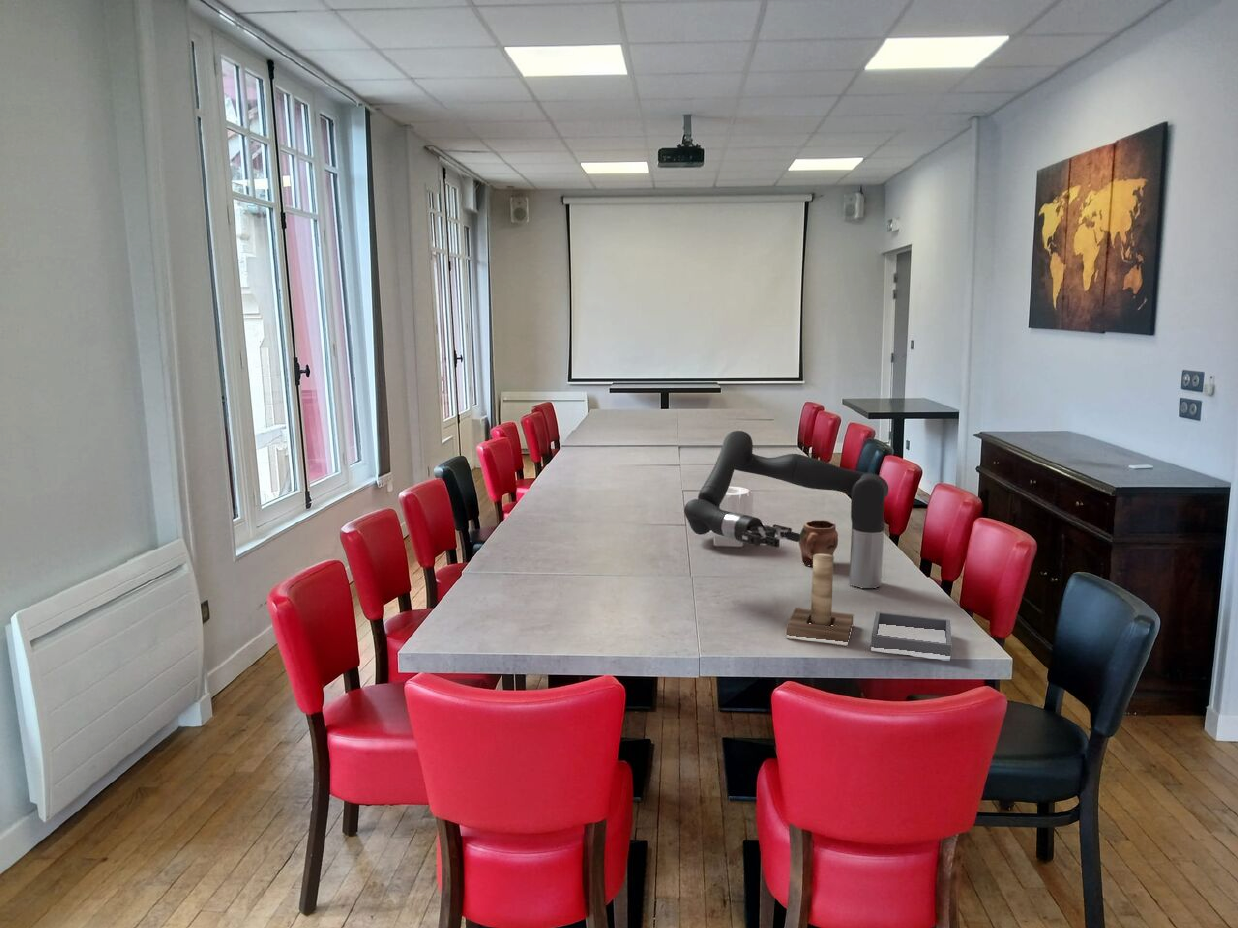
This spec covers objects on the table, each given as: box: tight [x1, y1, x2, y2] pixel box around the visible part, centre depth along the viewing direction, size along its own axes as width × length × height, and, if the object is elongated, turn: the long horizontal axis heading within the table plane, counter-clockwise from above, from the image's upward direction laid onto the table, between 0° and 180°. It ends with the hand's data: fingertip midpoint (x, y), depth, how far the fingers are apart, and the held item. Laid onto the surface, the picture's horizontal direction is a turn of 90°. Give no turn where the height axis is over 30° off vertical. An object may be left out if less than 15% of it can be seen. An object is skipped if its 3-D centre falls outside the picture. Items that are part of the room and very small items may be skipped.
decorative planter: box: [798, 519, 839, 567], centre depth 275 cm, size 20×12×14 cm, turn 154°
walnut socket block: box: [786, 607, 855, 642], centre depth 219 cm, size 15×15×3 cm
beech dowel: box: [810, 554, 835, 626], centre depth 218 cm, size 5×5×20 cm
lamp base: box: [705, 486, 765, 548], centre depth 301 cm, size 25×25×19 cm
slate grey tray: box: [870, 610, 952, 657], centre depth 212 cm, size 18×18×4 cm
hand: (789, 540), depth 224 cm, fingers open, 8 cm apart
